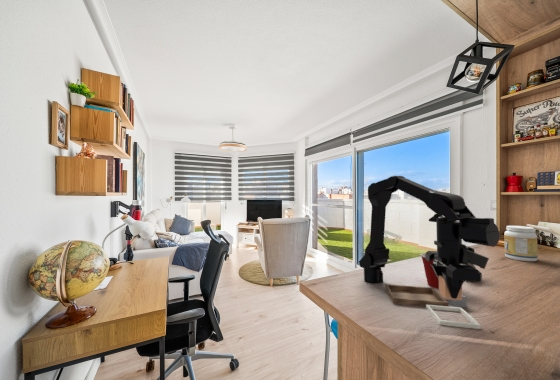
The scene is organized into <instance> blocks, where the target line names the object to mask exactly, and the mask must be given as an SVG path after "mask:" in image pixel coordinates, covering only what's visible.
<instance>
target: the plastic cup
mask: <svg viewBox="0 0 560 380" xmlns="http://www.w3.org/2000/svg"><path fill="white" fill-rule="evenodd" d="M425 253H426V252H425ZM425 253H420V257H421V260H422V263H423V268H424V273H425V278H426V282H427V285H428V287H430V288H434V289H438V290H439V280H438V278H437V276H436V274H435V272H434V270H433V268H432V266H431V265H430V264H431V263H432V264H433V260H431V262H429V261H427V260H426V259H425Z"/></svg>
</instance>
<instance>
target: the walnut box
mask: <svg viewBox="0 0 560 380" xmlns="http://www.w3.org/2000/svg"><path fill="white" fill-rule="evenodd" d="M384 286H385V287H384V288H385V291H386V293H387V295H388V297H389V299H390V300H391V302H392V304H393V305H405V306H406V305H407V306H414V307H415V306H418V307H425V308H426V304H428V305H439V306H450V305H449V303H448V302H447V301H446V300H445V299H444V297H443V296H442V295H441V294H440V293H439V291H437V290H436V288H433V287H431V286H428V287H426V286H416V285H401V284H392V283H391V284H390V283H384Z"/></svg>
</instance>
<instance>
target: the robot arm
mask: <svg viewBox="0 0 560 380" xmlns="http://www.w3.org/2000/svg"><path fill="white" fill-rule="evenodd" d="M398 191H401V192H403V193H405V194H407V195H409V196H412V197H413V198H416V199H417V200H420V201H421V202H423V203H424V204H425V206H426V208H427V209H430V210H431V211H432V212H434V215H433V216H431V217H430V218H428V222H433V223H436V224H435V225H436V240H433V244H434V245H435V246H436V250H428V251H426V252H425V259H426V260H427V261H429V262H431V260H433V264H432V263H431V264H430V265H431V266H432V268H433V270H434V272H435V274H436V276H437V278H438V280H439V276H443V277H444V280H445V282H446V285H447V288H448V290H449V293H450V295H451V297H452V298H454V299H456V298H457V296H458V294H459V291H460V289H461V286H462V287H463V284H464V282H475V283H476V282H477V283H478V282H479V283H480V282H482V281H483V274H482V272H481V271H480V270H478V269H477V268H476V269H475V268H474V267H472V266H470V265H468V263H471V264H473V265H474V266H477V267H479V268H480V269H482V270H485V269H486V266H487V264H488V261H489V259H490V258H489V257H487V256H484V255H483V254H479V253H477V252H475V249H474V248H473V247H470V246H468V245H466V244H463V242H464V243H469V244H475V245H481V246H486V247H491V248H492V247H493V248H495V247H496V246H497V245H498V244H499V241H500V238H501V233H500V232H501V231H499V230H500V229H499V228H498V226H497V224H496V223H495V219H494V218H491V217H483V218H482V217H481V218H480V217H476V216H475V214H474V213H473V212H472V211H471V210H470V208H468V206H467V205H466V201H465V200H464V197H463V196H461V195H458V194H454V193H450V192H445V191H438V190H434V189H433V188H430V187H427V186H426V185H422V184H420V183H418V182H415V181H412V180H411V179H409V178H407V177H405V176H403V175H392V176H389V177H388V178H385V179H383V180H379V181H377V182H373V183H370V185H368V188H367V199H368V201H369V203H370V204H371V216H370V217H371V219H370V236H369V242H368V243H367V245H366V247H365V249H364V254H363V257H361V259H360V260H359V261H358V264H359V267H360V268H363V282H365V283H370V284H382V283H384V273H383V271H382V268H385V267H386V264H387V262H388V260H390V248H387V246H386V245H385V243H384V241H385V228H386V227H385V226H386V212H387V210H386V209H387V205H389V202H390V201H391V199H392V194H393V193H396V192H398ZM460 264H465V265H460Z"/></svg>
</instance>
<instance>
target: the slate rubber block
mask: <svg viewBox="0 0 560 380" xmlns="http://www.w3.org/2000/svg"><path fill="white" fill-rule="evenodd" d="M443 298H444V297H443ZM444 299H445V298H444ZM445 300H446V301H447V302H448V303H449V306H450V307H461V308H467V307H468V306H467V296H466V295H464V294H462V300H451V299H445Z"/></svg>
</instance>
